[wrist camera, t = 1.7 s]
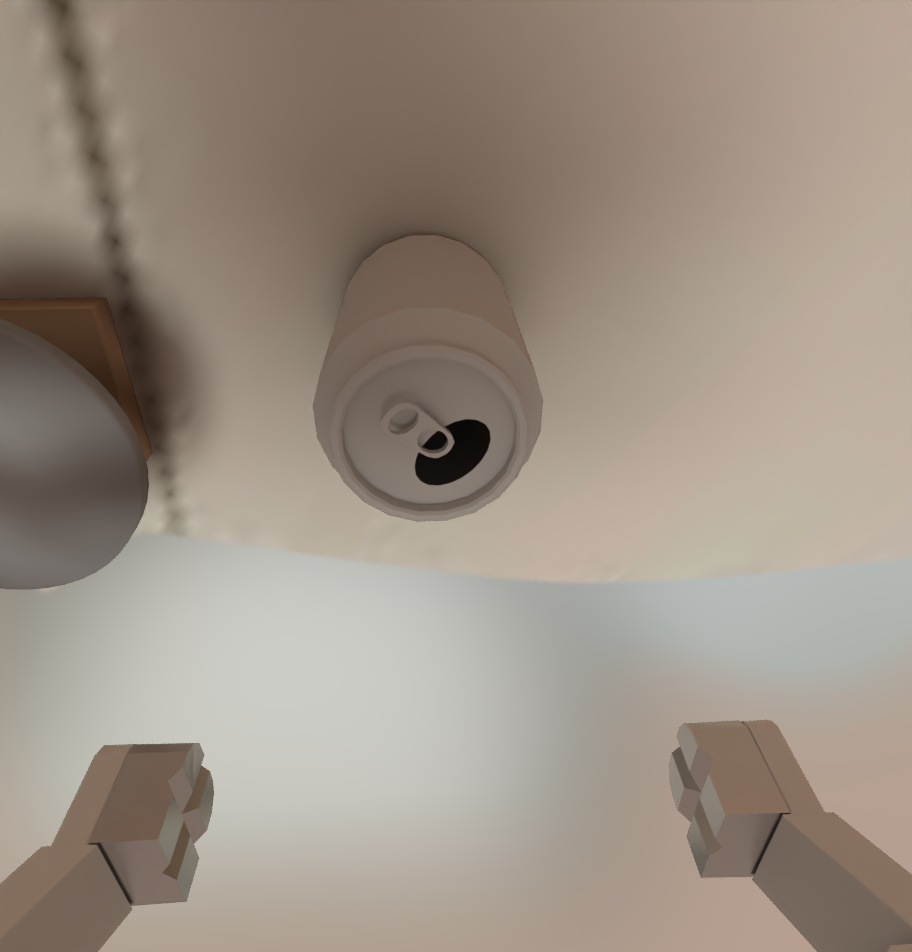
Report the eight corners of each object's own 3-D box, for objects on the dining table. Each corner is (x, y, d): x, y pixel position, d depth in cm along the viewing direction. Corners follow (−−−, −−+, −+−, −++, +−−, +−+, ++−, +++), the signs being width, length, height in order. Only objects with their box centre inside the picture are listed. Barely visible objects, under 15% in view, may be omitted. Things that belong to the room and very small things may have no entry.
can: (429, 416, 33) (433, 576, 23) (310, 316, 30) (254, 450, 20) (540, 312, 30) (602, 440, 20) (422, 190, 27) (424, 269, 17)
